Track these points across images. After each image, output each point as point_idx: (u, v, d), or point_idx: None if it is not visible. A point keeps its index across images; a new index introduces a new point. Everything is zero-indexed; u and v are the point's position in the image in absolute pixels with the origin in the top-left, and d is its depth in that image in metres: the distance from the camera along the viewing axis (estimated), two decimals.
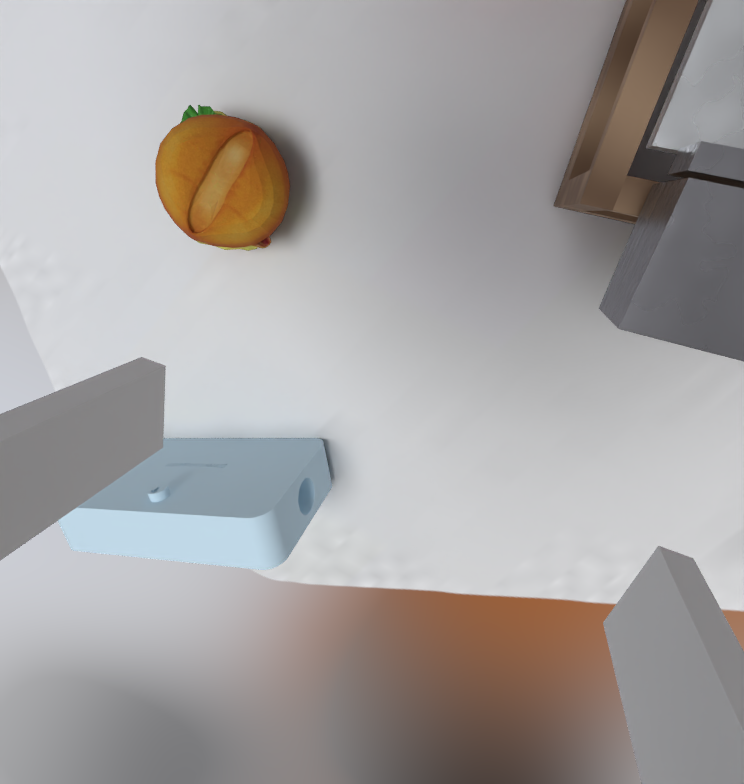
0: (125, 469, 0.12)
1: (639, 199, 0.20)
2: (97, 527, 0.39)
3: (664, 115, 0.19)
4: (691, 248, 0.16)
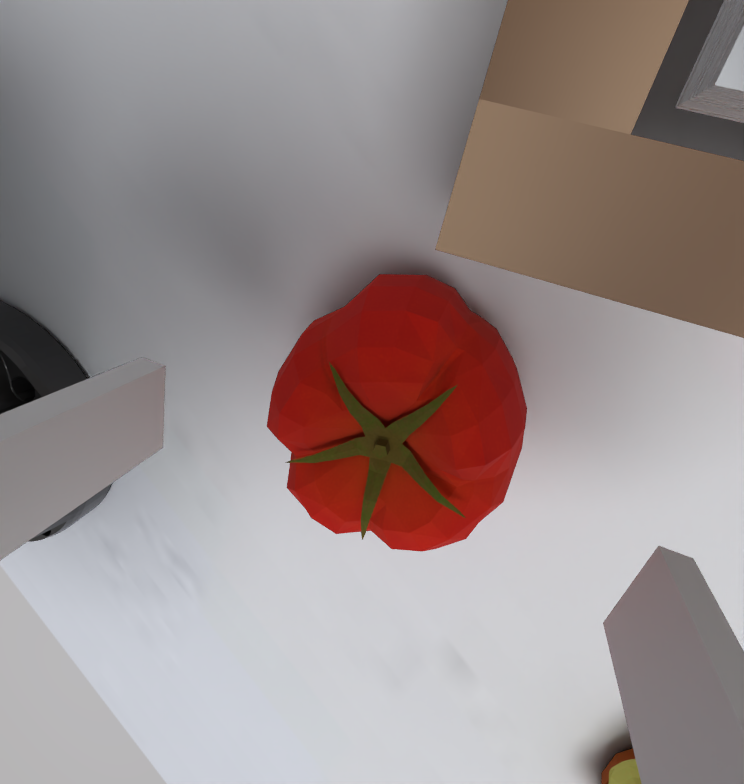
0: (125, 469, 0.12)
1: None
2: None
3: None
4: None
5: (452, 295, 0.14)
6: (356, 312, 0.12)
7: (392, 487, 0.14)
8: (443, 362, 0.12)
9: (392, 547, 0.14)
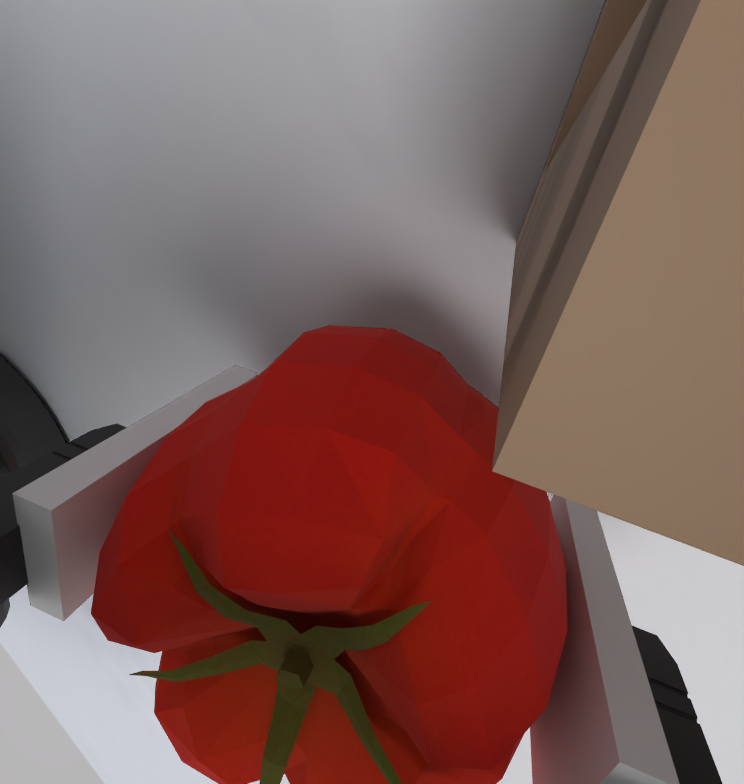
0: None
1: None
2: None
3: None
4: None
5: (431, 376, 0.07)
6: (235, 423, 0.06)
7: (320, 728, 0.07)
8: (406, 530, 0.06)
9: None
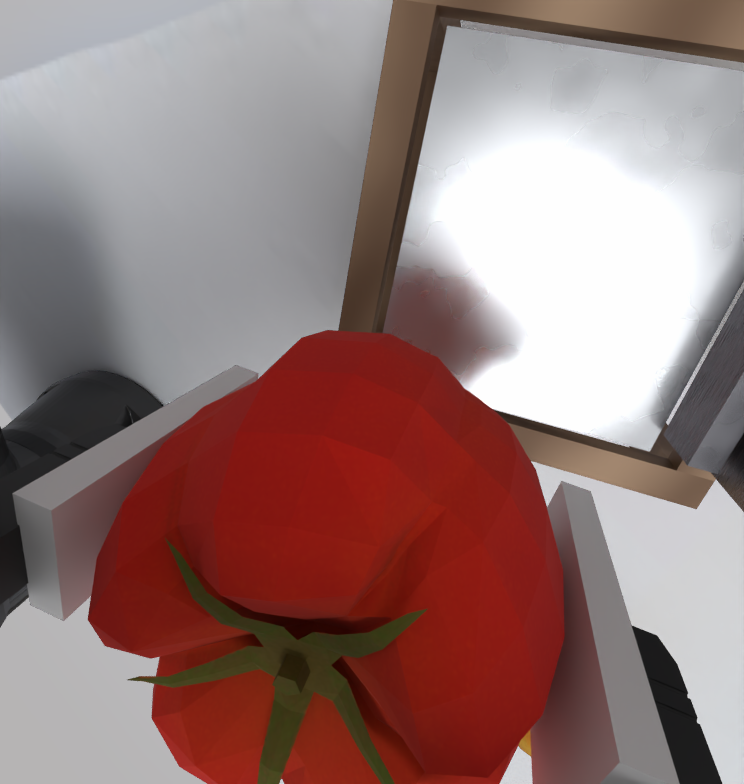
0: None
1: None
2: None
3: (621, 442, 0.19)
4: None
5: (428, 382, 0.07)
6: (232, 430, 0.06)
7: (317, 734, 0.07)
8: (403, 536, 0.06)
9: None
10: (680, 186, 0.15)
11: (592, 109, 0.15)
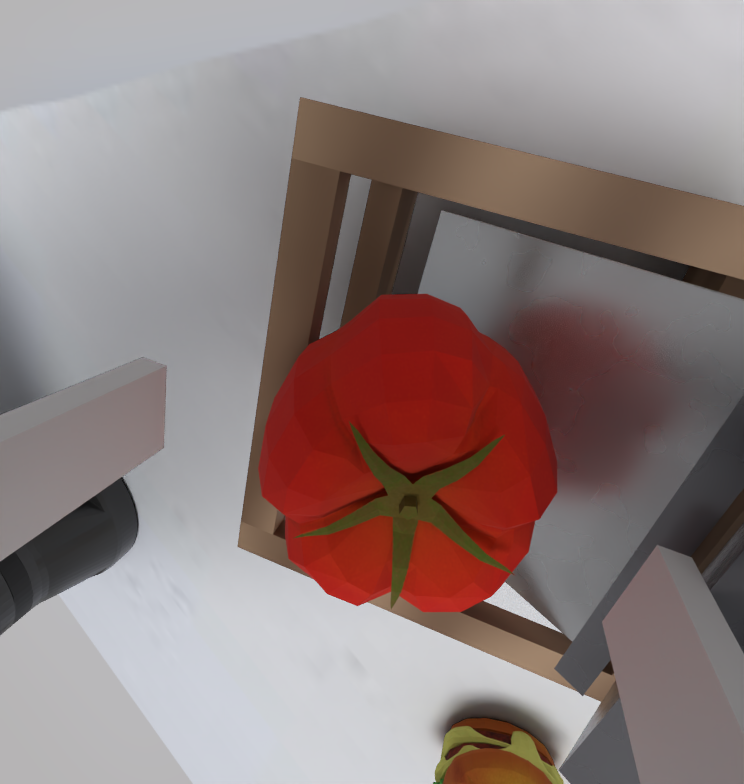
0: (126, 469, 0.12)
1: None
2: None
3: (549, 619, 0.17)
4: None
5: (468, 320, 0.12)
6: (372, 355, 0.10)
7: (422, 546, 0.12)
8: (478, 405, 0.11)
9: (424, 611, 0.12)
10: (613, 378, 0.14)
11: (538, 290, 0.16)
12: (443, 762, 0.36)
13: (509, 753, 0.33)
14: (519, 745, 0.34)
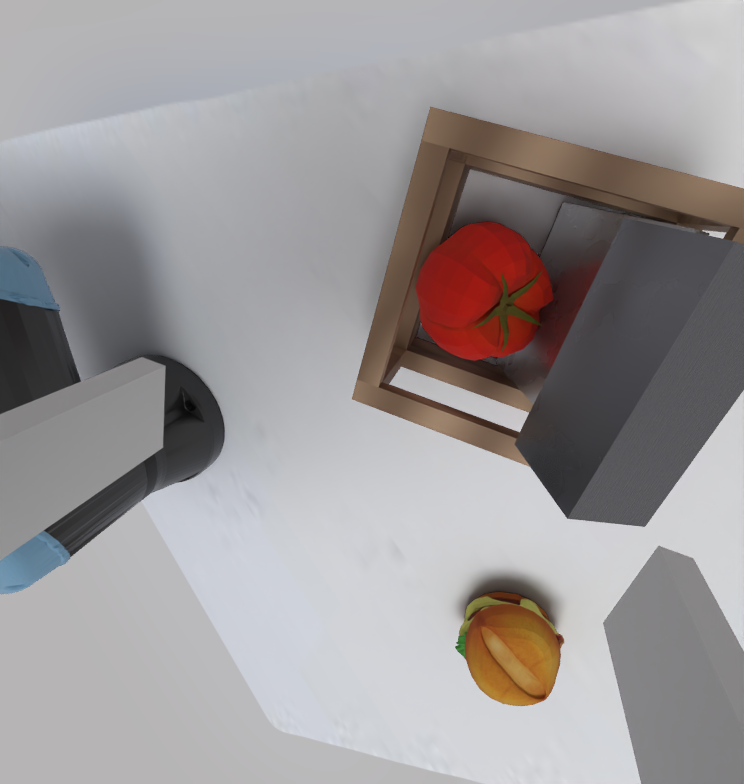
0: (125, 470, 0.12)
1: None
2: None
3: None
4: (541, 451, 0.22)
5: None
6: (499, 247, 0.27)
7: (509, 325, 0.30)
8: None
9: (509, 353, 0.31)
10: None
11: (595, 238, 0.28)
12: (466, 622, 0.46)
13: (519, 606, 0.43)
14: (526, 605, 0.44)
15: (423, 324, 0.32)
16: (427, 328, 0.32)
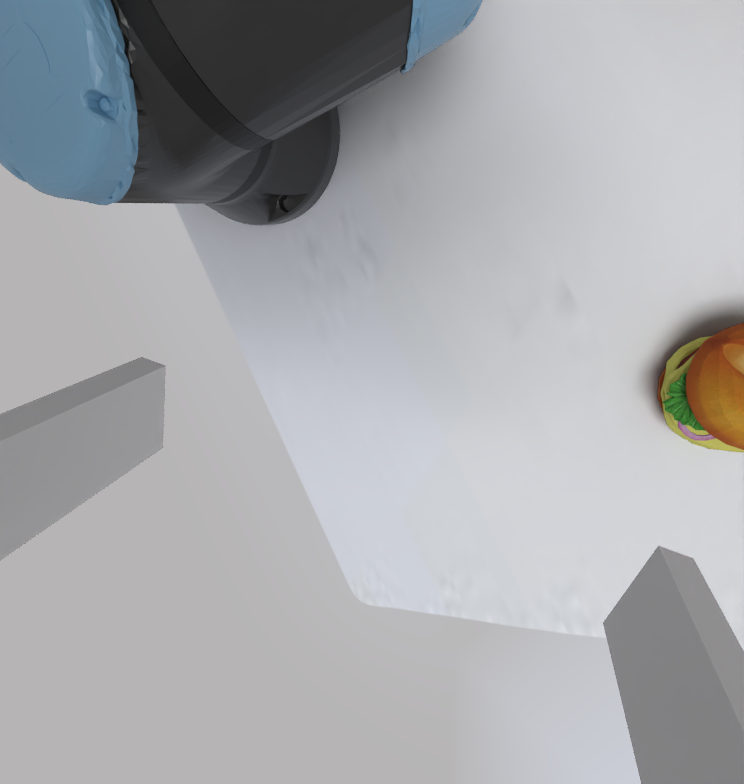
0: (125, 469, 0.12)
1: None
2: None
3: None
4: None
5: None
6: None
7: None
8: None
9: None
10: None
11: None
12: (676, 370, 0.34)
13: None
14: None
15: None
16: None
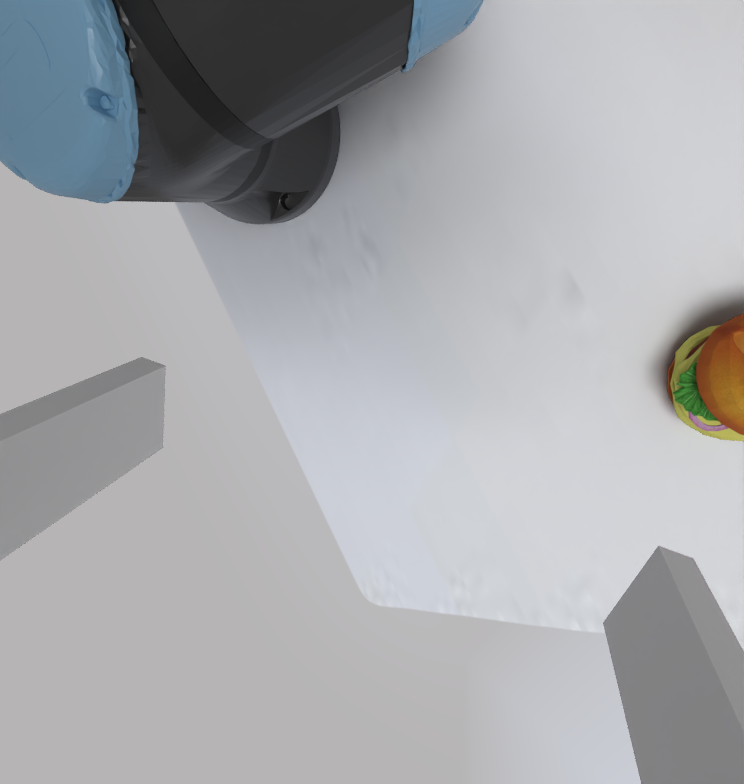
0: (125, 469, 0.12)
1: None
2: None
3: None
4: None
5: None
6: None
7: None
8: None
9: None
10: None
11: None
12: (686, 360, 0.34)
13: None
14: None
15: None
16: None
